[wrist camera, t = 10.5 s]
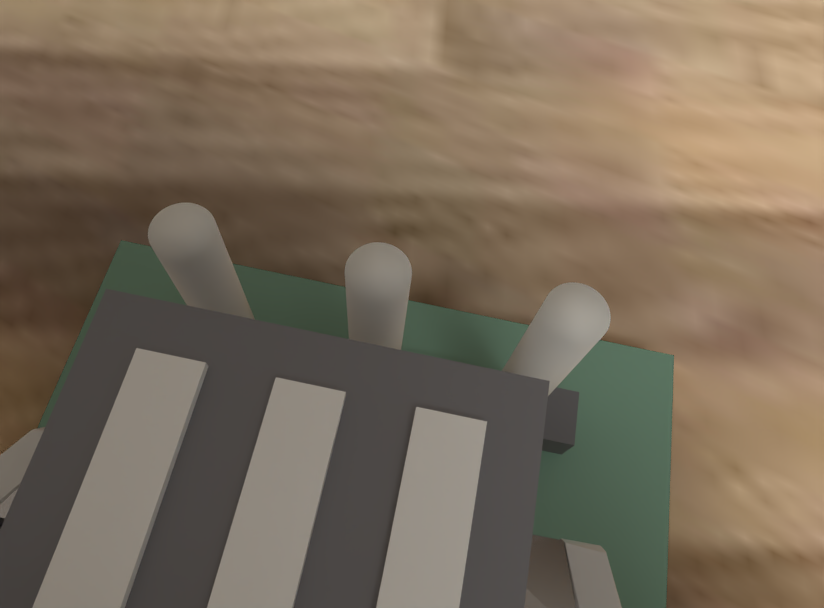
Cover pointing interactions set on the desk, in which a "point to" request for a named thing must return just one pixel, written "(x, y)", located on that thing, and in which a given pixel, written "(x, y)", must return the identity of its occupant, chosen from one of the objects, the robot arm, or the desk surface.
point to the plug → (272, 472)
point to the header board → (472, 344)
